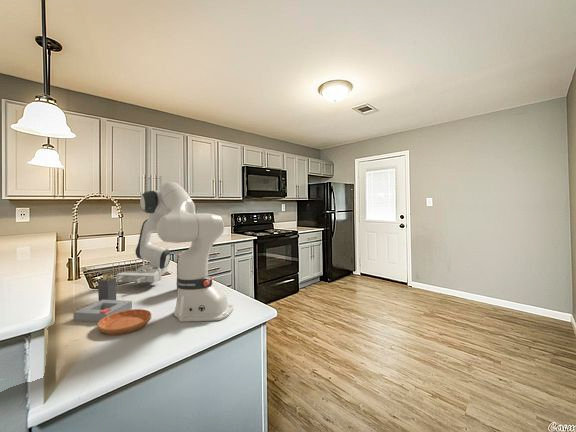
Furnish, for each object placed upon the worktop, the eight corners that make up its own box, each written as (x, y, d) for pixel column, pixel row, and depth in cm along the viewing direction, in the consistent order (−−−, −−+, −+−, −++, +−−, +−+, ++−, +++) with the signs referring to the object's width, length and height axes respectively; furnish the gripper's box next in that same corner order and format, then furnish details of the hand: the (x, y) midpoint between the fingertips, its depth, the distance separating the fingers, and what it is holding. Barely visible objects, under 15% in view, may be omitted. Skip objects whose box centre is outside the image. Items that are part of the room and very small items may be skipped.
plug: (116, 300, 114) (115, 273, 114) (108, 303, 110) (107, 276, 110) (106, 299, 115) (106, 273, 114) (98, 303, 110) (97, 276, 110)
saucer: (157, 327, 90) (157, 318, 90) (101, 343, 79) (101, 333, 79) (144, 312, 102) (144, 305, 101) (94, 325, 91) (94, 317, 91)
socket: (132, 308, 105) (131, 299, 105) (106, 322, 93) (106, 312, 92) (102, 306, 107) (102, 297, 107) (73, 320, 94) (73, 310, 94)
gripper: (127, 267, 139) (107, 274, 125) (163, 268, 137) (146, 275, 123) (127, 278, 139) (107, 286, 125) (163, 280, 137) (146, 288, 123)
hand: (127, 281), depth 124 cm, fingers open, 8 cm apart
